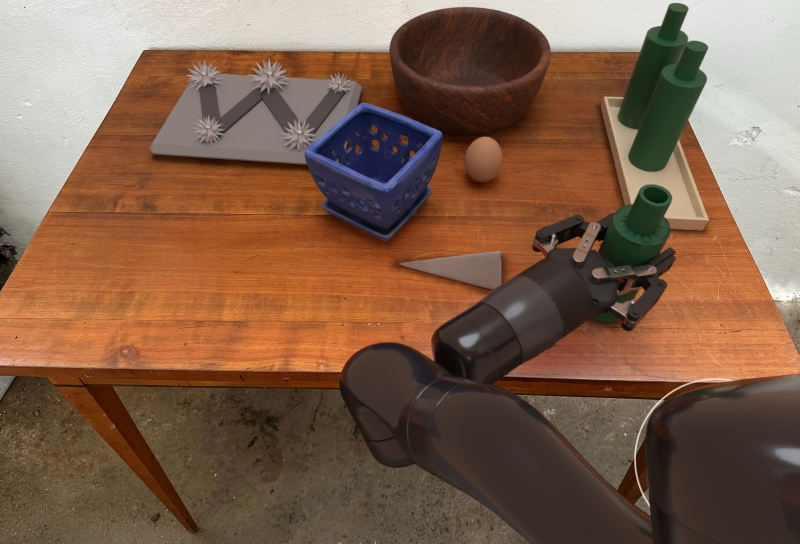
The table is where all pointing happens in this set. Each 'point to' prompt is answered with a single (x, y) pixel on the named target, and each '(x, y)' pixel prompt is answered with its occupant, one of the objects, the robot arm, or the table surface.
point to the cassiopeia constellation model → (253, 115)
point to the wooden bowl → (468, 68)
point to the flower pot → (374, 169)
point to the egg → (483, 159)
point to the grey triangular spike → (464, 268)
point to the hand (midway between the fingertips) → (645, 236)
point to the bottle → (636, 235)
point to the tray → (654, 173)
